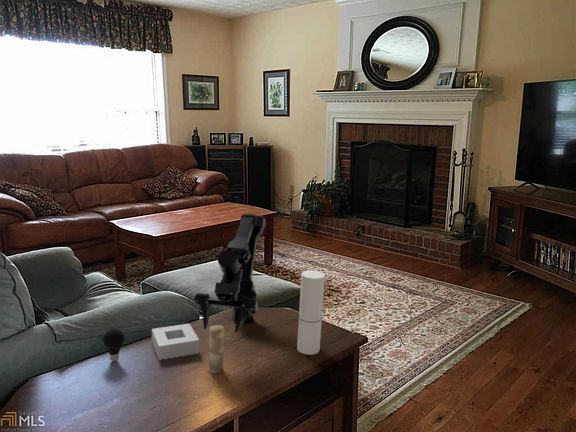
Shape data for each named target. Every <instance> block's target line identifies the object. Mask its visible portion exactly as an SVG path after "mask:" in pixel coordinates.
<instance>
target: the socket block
mask: <svg viewBox="0 0 576 432" xmlns="http://www.w3.org/2000/svg"><path fill="white" fill-rule="evenodd" d="M151 343H153V344H152V345H153V348H155V349H154V352H155V353H156V356H157V358H158V361H163V360H162V359H164V360H168V358H170V359H174V357H176V358H180V356H181V357H187V356H193V355H198V354H200V339H199V337H198V335H197V334H196V332H195V331H194V329H193V327H192V325H191V324H190V323H184V324H178V325H177V324H176V325H169V326H163V327H156V328H152V329H151ZM186 355H187V356H186Z"/></svg>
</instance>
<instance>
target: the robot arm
mask: <svg viewBox="0 0 576 432" xmlns="http://www.w3.org/2000/svg"><path fill="white" fill-rule="evenodd" d="M266 223H267V221H266V218H265V217H264V216H263V215H262V214H261V215H260V214H259V215H258V214H254V213H242V214H241V215H240V222H239V227H238V229H237V232H236V235H235V238H234V239H231V241H229V242H228V244H227V246H226V248H224V249H223V251H221V252H220V253H219V254H218V256H217V263H218V265H219V268H220V270H221V272H222V276H221V280H220V282H215V286H214V287H215V288H214V294H215V296H216V298H214V297H210V295H209V293H204V292H197V293H196V294H194V297H193V302H194V304H195V307H196V308H197V309H199V311H201V313H202V321H203V329H204V330H207V328H208V323H209V319H210V314H211V309H210V308H211V306H219V307H220V306H221V307H228V308H229V307H231V308H232V317H231V318H232V319H233V320H234V321H235V323H236V324H235V330H234V332H235V334H237V333H238V332H239V330H240V329H241V327H242V326H243V324H249V323H255V322H256V319H255V318H254V315H257V314H258V310H259V305H258V303H259V302H258V301H259V300H258V295H257V291H256V286H255V284H254V281H253V273H254V266H255V265H254V264H255V258H256V257H255V256H256V251H257V244H258V240H259V238H261V236H262V235H263V233H264V229H265V228H266V225H267V224H266Z"/></svg>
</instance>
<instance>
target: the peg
mask: <svg viewBox="0 0 576 432" xmlns="http://www.w3.org/2000/svg"><path fill="white" fill-rule="evenodd" d="M224 338H225V327H224V326H223V325H220V324H219V325H218V324H217V325H216V324H215V325H212V326H210V327H209V345H208V348H209V350H208V352H209V353H208V355H209V356H208V372H209V373H210V374H212V375H219V374H221V373H223V372H224V350H225V349H224V347H225V346H224V343H225V339H224Z"/></svg>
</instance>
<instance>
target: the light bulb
mask: <svg viewBox="0 0 576 432" xmlns="http://www.w3.org/2000/svg"><path fill="white" fill-rule="evenodd" d="M124 342H125V334H124V332H123V331H122V330H121V329H119V328H117V327H115V328H110V329H108V330H107V331H106V332H105V333H104V335H103V336H102V343H103V345H104V346H105V347H106V348H107V351H108V353H109V360H110V361H112V362H117V360H119V358H120V356H119V355H120V354H119V353H120V350H121V347H122V346H123V344H124Z"/></svg>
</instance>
